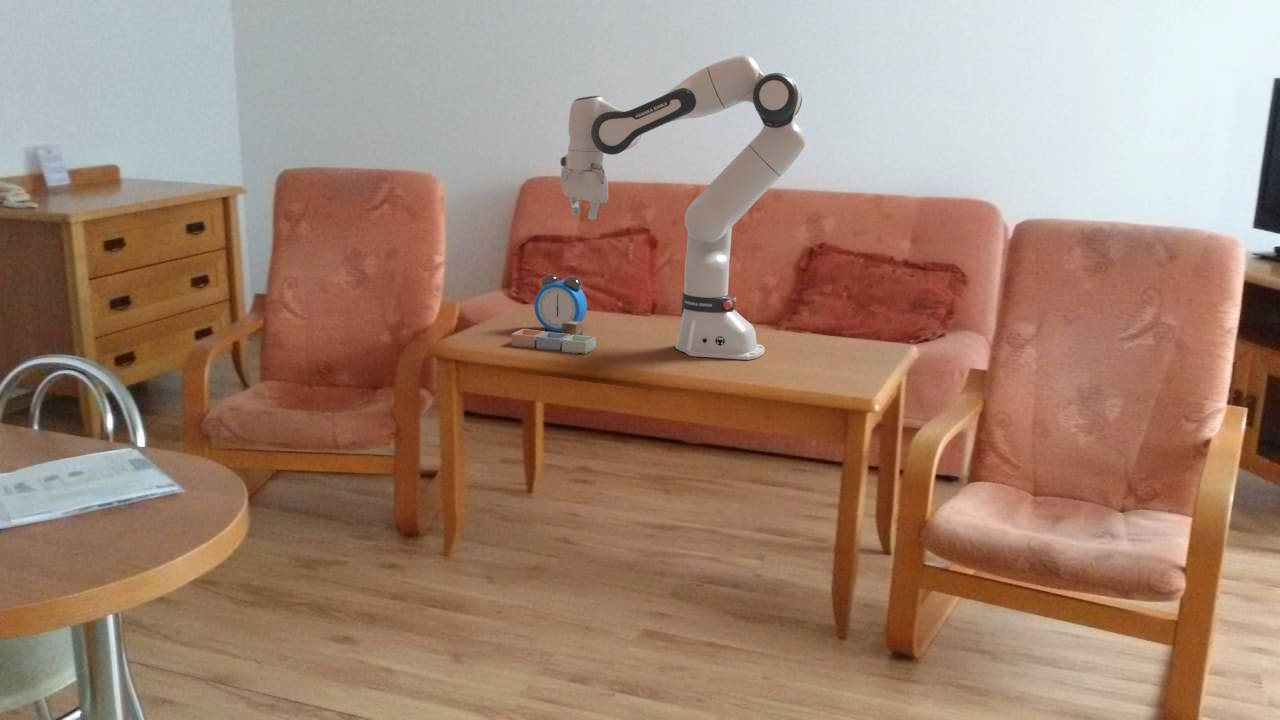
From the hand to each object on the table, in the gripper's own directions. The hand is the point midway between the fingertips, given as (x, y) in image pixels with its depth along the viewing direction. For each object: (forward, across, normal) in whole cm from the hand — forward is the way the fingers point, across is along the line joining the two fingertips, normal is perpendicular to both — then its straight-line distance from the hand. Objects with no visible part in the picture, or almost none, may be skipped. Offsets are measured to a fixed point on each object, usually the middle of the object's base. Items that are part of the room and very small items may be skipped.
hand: (583, 217), depth 286 cm
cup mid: (+32, -6, +11) cm, 34 cm away
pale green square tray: (+32, -12, +6) cm, 34 cm away
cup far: (+32, -1, +15) cm, 35 cm away
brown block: (+32, -2, +4) cm, 32 cm away
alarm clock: (+32, +10, +1) cm, 34 cm away
